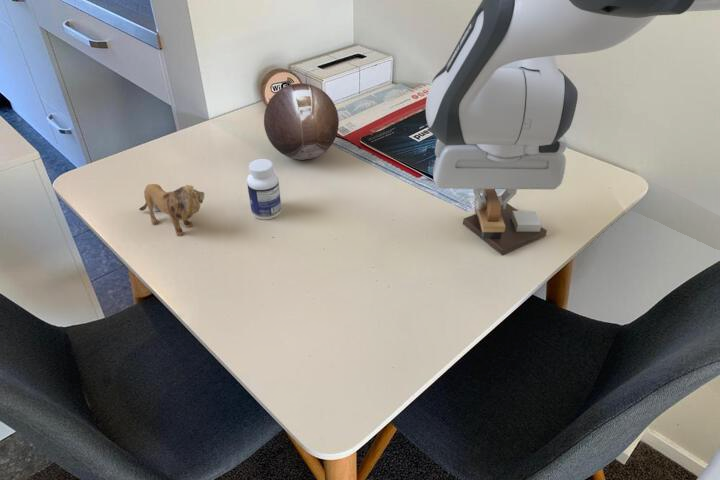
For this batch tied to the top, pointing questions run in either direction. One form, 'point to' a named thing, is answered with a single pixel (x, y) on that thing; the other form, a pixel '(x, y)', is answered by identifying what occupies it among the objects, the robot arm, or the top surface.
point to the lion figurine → (173, 204)
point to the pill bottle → (263, 189)
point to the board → (505, 233)
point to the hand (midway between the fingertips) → (490, 207)
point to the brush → (490, 216)
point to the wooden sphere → (301, 121)
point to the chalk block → (526, 221)
